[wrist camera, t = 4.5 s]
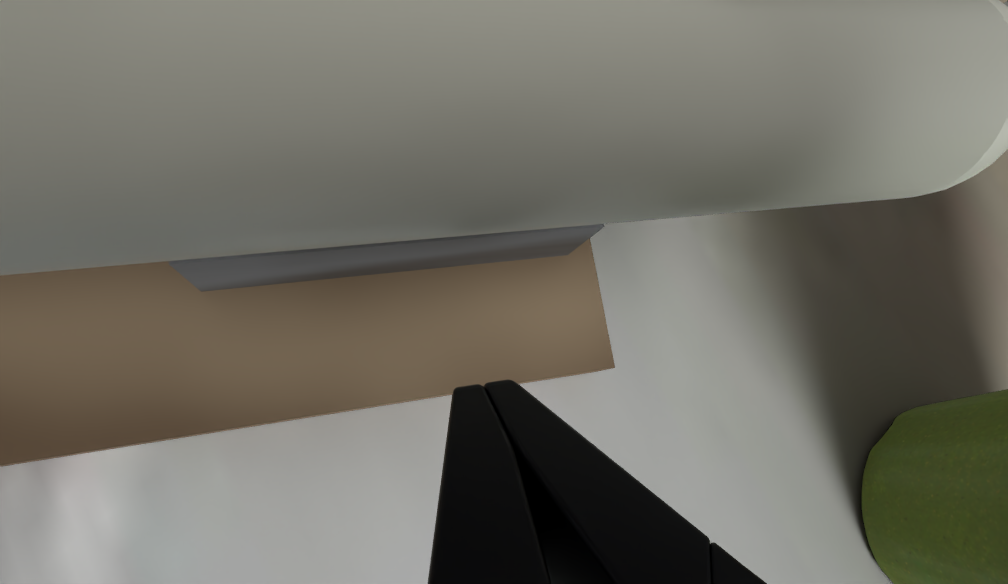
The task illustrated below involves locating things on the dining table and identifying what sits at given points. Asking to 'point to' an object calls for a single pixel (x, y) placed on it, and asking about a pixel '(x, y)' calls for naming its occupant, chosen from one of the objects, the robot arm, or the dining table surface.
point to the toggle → (469, 117)
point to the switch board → (287, 336)
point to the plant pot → (941, 493)
